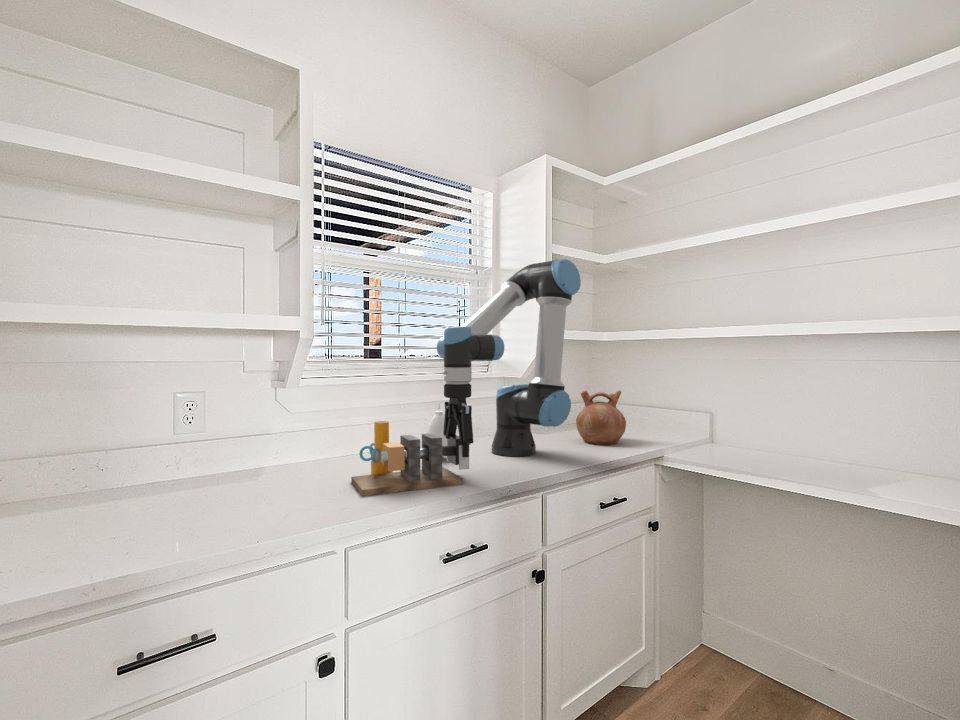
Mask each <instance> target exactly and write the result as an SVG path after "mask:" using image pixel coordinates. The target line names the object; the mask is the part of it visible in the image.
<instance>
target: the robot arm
mask: <svg viewBox="0 0 960 720" xmlns="http://www.w3.org/2000/svg"><path fill="white" fill-rule="evenodd" d="M581 283H582V282H581V275H580V271H579V269H578V268H577V265H575V264H574V262H572V261H571V260H569V259H566V258H563V259H558V258H557V259H554V260H549V261H543V262H537V263H532V264H528V265H526V266H524V267H523V268H521V269H519V270H518V271H516V272H515V273H514V274H513V275H512V276H510V277H509V278H508V279H506V281H505V282H503V283H502V285H501V287H500V291H498V292H497V293H496V294H495V295H494V296H493V297H492V298H490V299H489V300H488V301H487V302H486V303H485V304H484V305H483V306H482V307H481V308H479V309H478V310H477V312H476V313H474V314H473V315H472V316H471V317H470V318H469V319H468V320H467V321H465V322H464V323H463V324H462V325H461V326H460V325H459V326H454V325H453V326H452V325H451V326H447V327H446V328H444V331H443V336H441V337H440V338H439V340H438V341H437V344H436V351H437V352H436V353H437V354H438V356H439V357H440V358H441V359H443V371H442V375H443V381H444V382H445V383H444V385H443V396H444V397H445V398H447V399H448V401H444V415H445V418H444V433H443V434H444V436H445V435H446V439H447V446H450V437H451V436H459V437H460V443H458V445H459V465H458V470H459V471H460V470H469V469H470V445H471V444H474V433H473V431H474V430H473V421H472V420H473V417H472V409H473V407H472V405H467V398H470V397H472V384H471V381H472V380H473V379H472V375H473V374H472V373H473V372H472V369H473V368H472V362H475V361H477V362H482V361H483V362H484V361H485V362H493V361H499V360H500V359H501V358H502V357H503V355H504V353H505V342H504V340H503V338H502V337H501V336H499V335H496V334H491V331H493V329H494V328H496V326H497V325H499V324H500V323H501V322H502V321H503V320H504V319H505V318H506V317H507V316H508V315H509V314H510V313H511V312H512V311H513V310H514V309H515V308H516V307H521V306H522V305H524V304H525V303H526V302H527V301H530V300H534V299H535V301H536V302H537V304H538V305H539V311H538V323H537V324H538V325H537V335H536V336H537V338H536V350H535V359H534V361H535V362H534V371H533V378H532V379H531V380H530V381H529V382H528V383H523V384H513V385H512V384H511V385H501V386H499V387H498V388H497V390H496V397H495V399H496V400H495V403H496V404H495V405H496V407H495V408H496V410H495V411H496V430H495V434H494V436H493V441H492V443H491V453H492V454H494V455H498V456H503V457H504V456H505V457H509V456H510V457H523V456H524V457H525V456H526V457H527V456H531V455H534V454H536V451H537V450H536V449H537V448H536V447H537V446H536V443H535V440H534V436H533V434H532V429H531V426H532V425H533V426H534V425H535V426H542V427H547V428H548V427H550V428H552V427H553V428H555V427H556V428H557V427H559V426H561V425H562V424H563V423H565V421H566V420H568V419H567V418H568V417H569V415H570V412H571V408H572V400H571V398H570V394H569V393H567V392H566V391H565V386H566V385H565V384H564V383H563V382H562V380H561V376H562V367H563V365H562V364H563V354H564V353H563V352H564V342H565V341H564V340H565V330H566V329H565V328H566V315H567V314H566V313H567V307H568V306H569V305H570V304H572V300H573V299H572V297H573V296H575V295H576V294H577V293H578V292H579V291H580V288H581ZM489 333H490V334H489ZM457 430H458V435H457ZM446 463H447V464H450V463H451V462H450V456H446ZM451 464H452V463H451Z"/></svg>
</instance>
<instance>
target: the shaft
mask: <svg viewBox="0 0 960 720" xmlns="http://www.w3.org/2000/svg"><path fill="white" fill-rule="evenodd" d="M458 443H460V437H459V435H457V436H451V437H450V446H442V457H443V458H445V457H446V458H447V456H450V462H451V464H453V465H454V466H459V445H458ZM425 458H429V448H422V447H420V460H422V459H425ZM404 459H405V460H407V449H405V450H404ZM381 461H382V463H383V462H388V452H386V451H382V452H381Z"/></svg>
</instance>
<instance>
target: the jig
mask: <svg viewBox="0 0 960 720" xmlns="http://www.w3.org/2000/svg"><path fill="white" fill-rule="evenodd" d="M399 439H400V444H401V445H403V446H404V450H405V449H407V460H405V470H400V471H393V472H392V473H383V474H373V475H371V474H364V475H353V476H351V478H350V479H351V484H352V485H353V486H354V488H355V489H356V490H357V491H358V492H359V494H360V496H361V497H367V496H375V495H377V496H378V495H383V493H385V494H393V493H399V492H398V491H401V492H407V491H408V490H410V491H417V490H416V489H418V490H425V488H426V489H433V487H435V488H441V486H443V487H449V486H458V485H463V480H464V478H463V477H461V476H459V475H458V474H456V473H454V472H453V471H451V470H449V469H448V468H446V467H444V466H443V458H442V437H440V436H437V435H435V434H433V433H428V434H427V433H421V439H420V438H418V437H416V436H414V435H412V434H405V435H402V434H401V435H400V438H399ZM420 448H429V458H425V459H420ZM392 492H393V493H392Z"/></svg>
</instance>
